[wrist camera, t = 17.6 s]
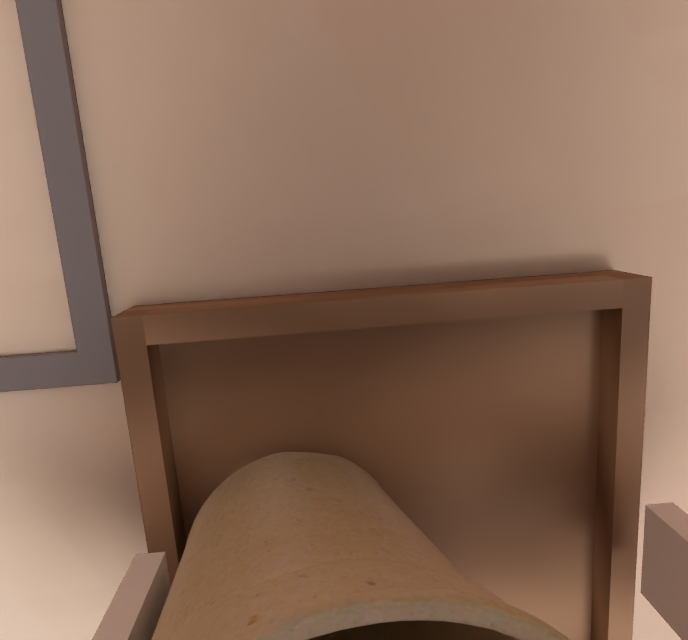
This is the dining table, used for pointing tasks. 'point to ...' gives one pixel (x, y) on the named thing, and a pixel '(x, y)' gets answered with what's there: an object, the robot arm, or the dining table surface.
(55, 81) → the square
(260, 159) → the dining table surface
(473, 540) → the brown divided tray
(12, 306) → the dining table surface
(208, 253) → the dining table surface
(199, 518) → the flower pot
